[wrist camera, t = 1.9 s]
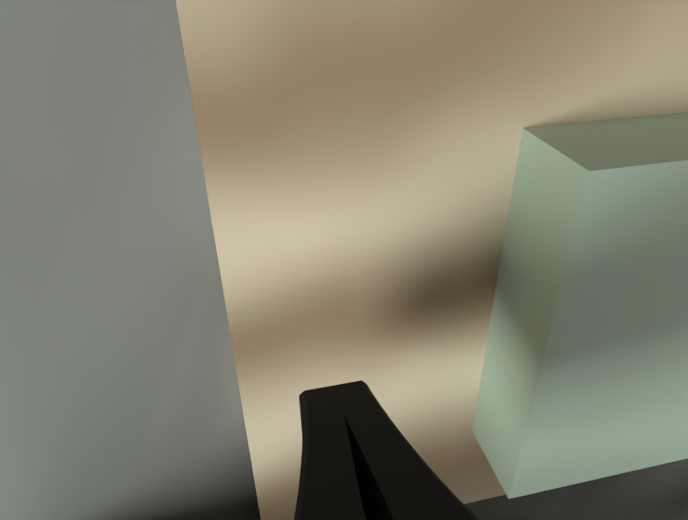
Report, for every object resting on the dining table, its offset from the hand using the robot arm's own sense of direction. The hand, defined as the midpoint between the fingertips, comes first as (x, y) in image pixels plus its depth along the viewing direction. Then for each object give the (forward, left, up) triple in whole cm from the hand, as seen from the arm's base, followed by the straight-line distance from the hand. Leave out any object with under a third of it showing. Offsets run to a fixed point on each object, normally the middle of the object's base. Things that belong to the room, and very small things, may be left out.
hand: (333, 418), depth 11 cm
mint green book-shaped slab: (0, -9, -3) cm, 9 cm away
